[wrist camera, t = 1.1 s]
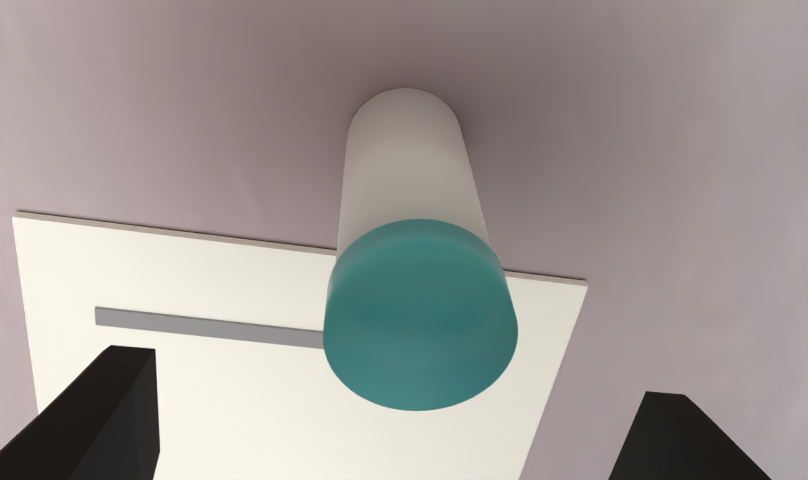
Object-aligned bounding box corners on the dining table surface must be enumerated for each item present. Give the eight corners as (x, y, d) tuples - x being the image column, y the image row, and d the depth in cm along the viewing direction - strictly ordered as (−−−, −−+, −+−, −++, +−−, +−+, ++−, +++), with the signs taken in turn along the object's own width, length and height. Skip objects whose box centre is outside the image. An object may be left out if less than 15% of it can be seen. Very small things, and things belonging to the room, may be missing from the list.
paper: (586, 280, 21) (589, 288, 21) (487, 555, 27) (488, 564, 27) (16, 211, 19) (10, 218, 19) (57, 522, 26) (53, 532, 25)
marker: (478, 93, 18) (540, 270, 11) (452, 204, 19) (493, 418, 13) (351, 75, 17) (334, 246, 11) (336, 189, 19) (313, 401, 12)
